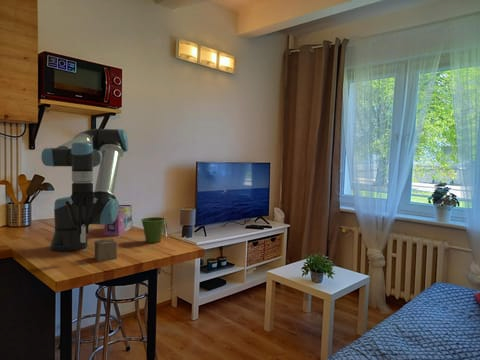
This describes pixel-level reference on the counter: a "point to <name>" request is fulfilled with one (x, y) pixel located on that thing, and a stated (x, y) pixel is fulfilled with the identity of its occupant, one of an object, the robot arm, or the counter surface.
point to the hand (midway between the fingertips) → (83, 241)
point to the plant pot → (153, 228)
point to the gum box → (120, 222)
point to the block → (105, 249)
